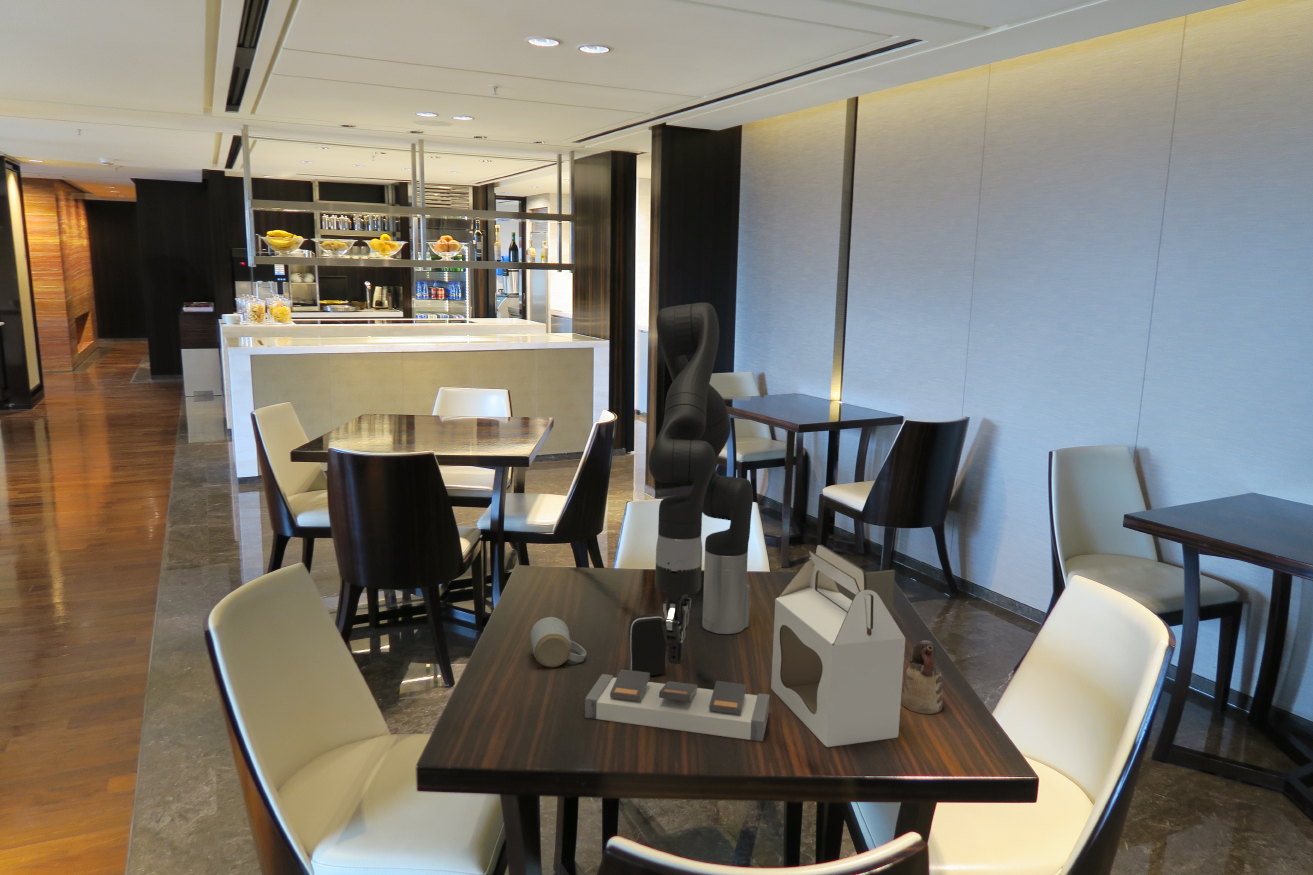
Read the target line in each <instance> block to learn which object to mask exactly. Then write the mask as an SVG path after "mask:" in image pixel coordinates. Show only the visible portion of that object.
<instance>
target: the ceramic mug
mask: <svg viewBox="0 0 1313 875" xmlns="http://www.w3.org/2000/svg"><path fill="white" fill-rule="evenodd" d="M530 642H531V647H532V651H533V652H532V653H533V655H534V658H535V659H536V661H537V662H538V663H539V664H541V665H542V666H544V667H547V668H557V667H560V666H562V665H563V664H565V663H566V662H567V660H569V661H571V662H575V663H582V662H583V663H584V661H585V660H586V657H587V651H586V649H585V648H584V647H583V646H581V645H580V644H578V643H577V642H575V641H573V640H572V639H571V637H570V631H569V628H568V625H567V624H566V622H564V621H563V620H562V619H560V618H558V617H554V616H547V617H544V618H540V619H539V620H538V621H536V623H535V624H534V625H533V627H532V628H531V631H530ZM572 651H573V652H572ZM574 652H575V653H574Z"/></svg>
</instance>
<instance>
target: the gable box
mask: <svg viewBox="0 0 1313 875" xmlns="http://www.w3.org/2000/svg"><path fill="white" fill-rule="evenodd" d="M808 552H809V555H810V556H809V558H808V560H806V562H804V563H803V565H802V566H801V567H800V568H799V570H798V571H796V572H797V573H795V574H794V576H793V577H792V578H791V579H790V581H789V582H788V583H787V585H786V586H785V588H783V590H781V593H779V595H778V596H777V597H775V600H774V623H773V624H774V625H773V642H772V643H773V644H772V663H771V682H770V684H771V685H770V688H771V690H772V692H774V694H776V695H777V697H779V699H780V700H781V701H782V702H783V703H784V704H785V705H786V706H787V707H788V708H789V709H790V710H791V711H792V712H793V714H794V715H795V716H796V717H798V719H799V720H800V721H801V722H802V723H803V724H804V726H805V727H807V728H808V730H809V731H811V733H813V735H814V736H815V737H816V738H817V739H818V740H819V741H820V743H822V744H823V745H824V747H825V748H831V747H838V746H839V747H840V746H846V745H855V744H861V743H868V742H869V743H870V742H876V741H882V740H889V739H890V740H891V739H897V738H899V732H900V731H899V730H900V718H901V705H902V703H901V693H902V687H903V680H904V664H905V649H906V636H905V635H904V634H903V632H902V631H901V629H900V627H899V625H898V624H897V622H896V621H895V620H894V617H893V615H892V616H891V615H890V613H889V611H888V610H887V608H886V607H885V605H884V603H883V602H882V600H881V599H880V597H879V596H878V594H877V593H876V592H874V591H872V590H867V581H866V573H867V572H866V571H865V570H864V569H863V568H861V567H860V566H858V565H857V564H855V563H853V562H852V561H849V560H848V559H846V558H844V557H843V556H841V555H839V554H838V553H836V552H835V551H833V550H832V549H829V548H828V547H826V546H824V545H823V544H817V547H816V551H815V552H813V551H812V550H808ZM834 581H836V582H837V583H839V584H840V585H842V586H843V587H845V588H846V589H848V590H849V591H851V592H852V593H854V594H855V597H854V599H853V601H852V600H850V599H849V598H847V597H846V596H844V595H843V594H841V593H839V591H838V588H837V586H836V584H835V582H834ZM868 634H869V635H868Z"/></svg>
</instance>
